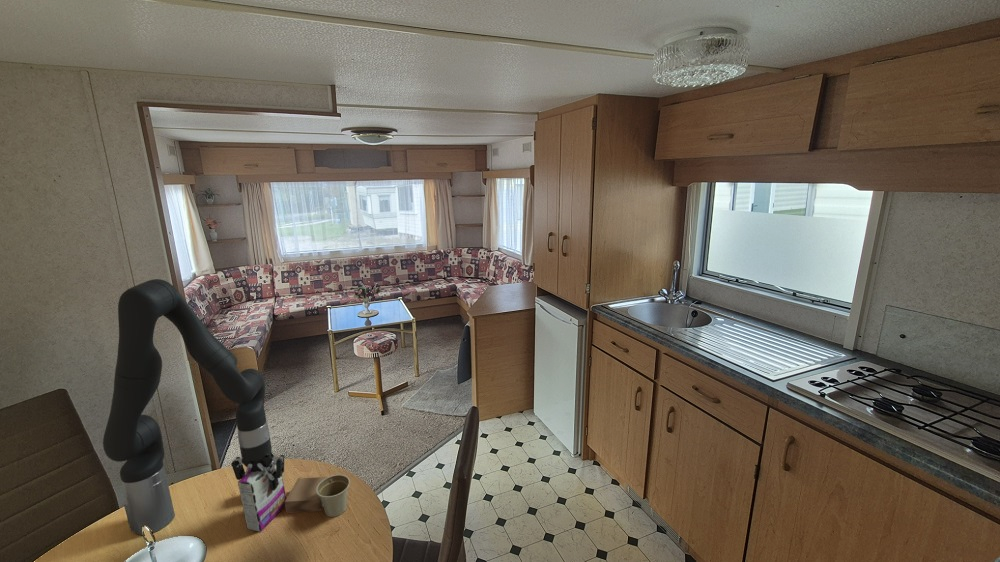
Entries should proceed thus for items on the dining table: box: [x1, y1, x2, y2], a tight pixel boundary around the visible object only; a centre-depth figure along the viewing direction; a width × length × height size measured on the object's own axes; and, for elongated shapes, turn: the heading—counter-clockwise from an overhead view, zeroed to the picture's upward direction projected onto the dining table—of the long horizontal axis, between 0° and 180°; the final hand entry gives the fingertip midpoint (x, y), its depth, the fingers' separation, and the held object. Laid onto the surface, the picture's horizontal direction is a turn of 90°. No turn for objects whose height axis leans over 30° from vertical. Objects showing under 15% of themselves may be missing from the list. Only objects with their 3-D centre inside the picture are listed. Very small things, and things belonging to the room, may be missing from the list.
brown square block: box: [284, 476, 328, 514], centre depth 130 cm, size 10×10×4 cm
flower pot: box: [316, 474, 351, 518], centre depth 125 cm, size 9×9×9 cm
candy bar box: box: [237, 461, 287, 533], centre depth 122 cm, size 11×5×16 cm, turn 168°
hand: (262, 489), depth 121 cm, fingers open, 6 cm apart
